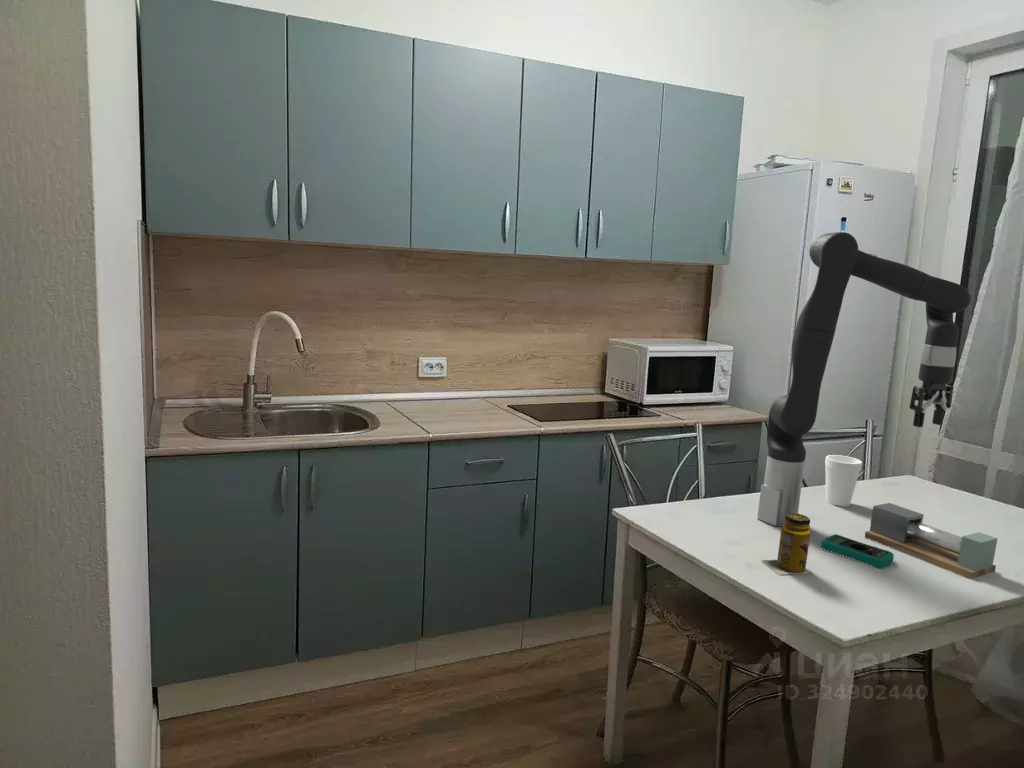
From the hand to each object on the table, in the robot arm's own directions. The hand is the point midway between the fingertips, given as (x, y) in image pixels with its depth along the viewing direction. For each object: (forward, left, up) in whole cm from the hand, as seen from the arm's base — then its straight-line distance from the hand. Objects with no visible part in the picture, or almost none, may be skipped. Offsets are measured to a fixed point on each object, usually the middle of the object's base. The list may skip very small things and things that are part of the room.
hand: (927, 425), depth 188 cm
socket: (-13, -23, -27) cm, 37 cm away
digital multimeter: (-31, -6, -29) cm, 43 cm away
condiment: (-53, -4, -28) cm, 60 cm away
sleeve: (-13, -3, -27) cm, 30 cm away
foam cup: (0, +22, -28) cm, 36 cm away
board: (-13, -12, -28) cm, 33 cm away
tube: (-13, -14, -25) cm, 32 cm away
